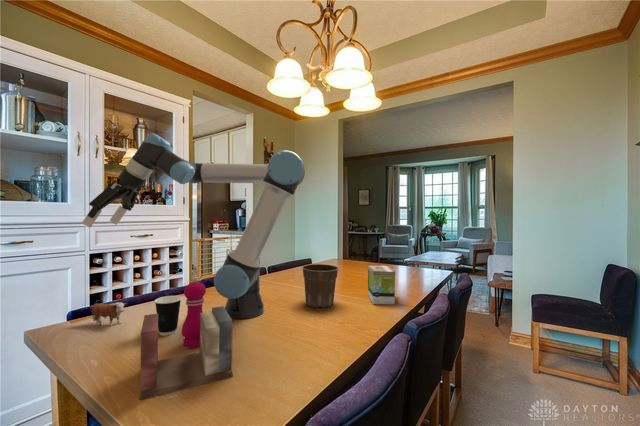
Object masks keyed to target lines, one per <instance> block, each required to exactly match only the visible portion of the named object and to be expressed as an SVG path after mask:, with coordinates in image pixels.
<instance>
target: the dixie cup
mask: <svg viewBox="0 0 640 426" xmlns="http://www.w3.org/2000/svg"><path fill="white" fill-rule="evenodd" d="M182 299H183V298H182V296H180V295H167V296H161V297H158V298H156V299H154V303H155V311H156V314H157V313H158V333H159V335H160V336H171V335H173V334H175V333H176V332H177V329H178V325H179V324H178V323H179V317H180V316H179V315H180V308H181V300H182Z"/></svg>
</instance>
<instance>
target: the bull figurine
mask: <svg viewBox="0 0 640 426" xmlns="http://www.w3.org/2000/svg"><path fill="white" fill-rule="evenodd" d="M127 304H128V303H127V302H124V303H123V302H118V301H117V302H115V303H94V304H93V305H92V306H91V318H92V320H93V322H95V321H96V325H97V326H98V327H100V326H101V325H102V323H103V321H102V319H101V318H102V317H103V318H104V319H107V318H108V317H109V323H108V325H109V326H110V327H113V326H114V325H113V320H115V319H116V321H117V324H118V325H122V321H121V319H120V318H121V317H120V316H121V314H122V313H123V312H125V309H124V308H125V306H126V305H127Z"/></svg>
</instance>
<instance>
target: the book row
mask: <svg viewBox="0 0 640 426" xmlns="http://www.w3.org/2000/svg"><path fill="white" fill-rule="evenodd" d="M158 353H159V330H158V313H157V312H156V313H149V314H145V315H144V316H143V321H142V325H141V329H140V378H139V379H140V382H139V383H140V384H139V385H140V386H139V387H140V388H139V391H140V392H139V400H141V401H142V400H144V399H149V398H152V397H156V396H160V395H164V394H169V393H172V392H177V391H180V390H181V391H182V390H184V389H188V388H192V387H196V386H199V385H204V384H207V383H213V382H215V381H220V380H223V379H228V378H232V377H233V375H234V374H233V371H234V370H233V318H231V317H230V316H229V314H228V313H227V311H226V310H225V306H224V305H223V306H222V305H221V306H216V307H212V308H211V311H206V312H203V313H200V347H199V351H198V352H194V353H188V354H184V355H180V356H179V355H178V356H173V357H169V358H164V359H161V360H160V359H158V358H159V354H158Z"/></svg>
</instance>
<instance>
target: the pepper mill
mask: <svg viewBox="0 0 640 426" xmlns="http://www.w3.org/2000/svg"><path fill="white" fill-rule="evenodd" d="M191 279H192V280H191V283H188V284H187V285H185V288H184V291H183V294H184V297H185V298H186V299H185V301H186V302H185V305H186V306H187V313H186V316H185V319H184V321H183V324H182V326H181V336H182V337H183V341H182V346H183V347H184V348H185V349H197V348H200V313H204V312H203V304H204V303H205V298H204V296H205V295H206V292H207V290H206V288H207V287H206V286H205V284H203V283H202V282H200V281H199V278H198V277H196V276H195V277H192V278H191Z"/></svg>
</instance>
